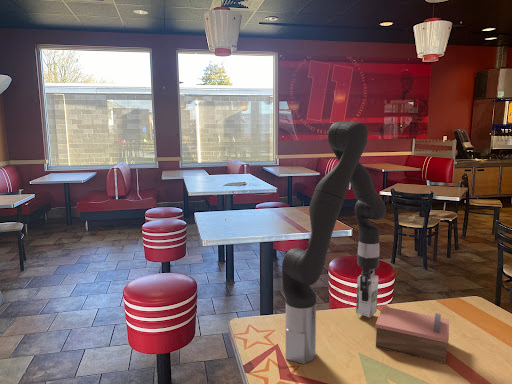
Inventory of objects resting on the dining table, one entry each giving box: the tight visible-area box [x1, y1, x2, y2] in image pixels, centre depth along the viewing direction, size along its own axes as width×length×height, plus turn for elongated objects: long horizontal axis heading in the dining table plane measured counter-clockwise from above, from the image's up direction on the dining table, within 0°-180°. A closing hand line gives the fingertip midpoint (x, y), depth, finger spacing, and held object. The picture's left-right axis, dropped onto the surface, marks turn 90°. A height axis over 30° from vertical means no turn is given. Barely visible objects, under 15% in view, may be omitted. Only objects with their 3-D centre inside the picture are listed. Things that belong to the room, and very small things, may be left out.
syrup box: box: [355, 274, 379, 318], centre depth 140 cm, size 6×6×14 cm
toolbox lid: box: [374, 306, 450, 344], centre depth 121 cm, size 14×21×4 cm, turn 62°
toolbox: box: [375, 328, 448, 365], centre depth 122 cm, size 13×20×6 cm, turn 62°
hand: (366, 297), depth 141 cm, fingers closed on syrup box, 6 cm apart
